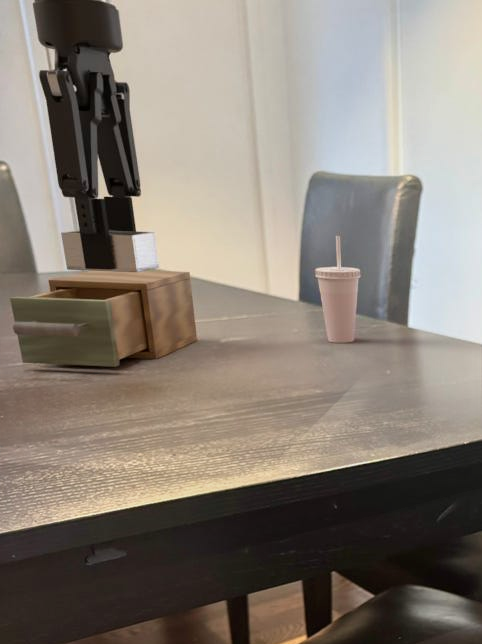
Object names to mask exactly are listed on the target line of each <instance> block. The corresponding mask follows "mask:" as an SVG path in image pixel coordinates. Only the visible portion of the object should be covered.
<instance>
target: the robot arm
mask: <svg viewBox="0 0 482 644" xmlns="http://www.w3.org/2000/svg"><path fill="white" fill-rule="evenodd" d="M32 8H33V9H32V10H33V15H34V21H35V27H36V33H37V39H38V42H39V43H40V45H41V46H43V47H44V48H46V49H51V50H54V69H52V70H51V69H48V70H47V69H40V70H39V72H38V78H39V80H40V84H41V88H42V91H43V94H44V98H45V103H46V108H47V116H48V123H49V129H50V137H51V143H52V150H53V151H52V152H53V157H54V164H55V170H56V176H57V184H58V187H59V189H60V191H61V194H62V196H63V197H64V198H74V205H75V210H76V219H77V223H78V231H80V237H81V243H82V249H83V256H84V262H85V268H86V269H105V270H112V269H114V264H113V258H112V251H111V244H110V237H109V230H110V231H137V228H136V220H135V211H134V206H133V205H134V204H133V198H132V197H137V198H138V197H139V198H140V197H141V195H142V190H141V179H140V178H141V177H140V171H139V164H138V157H137V152H136V151H137V150H136V143H135V136H134V130H133V129H134V128H133V122H132V115H131V105H130V104H131V101H130V100H131V99H130V95H131V94H130V86H129V83H128V82H126V81H124V82H123V81H121V82H120V81H117V80H116V79H115V73H114V69H113V67H112V63H111V60H110V55H111V54H116V53H119V52H121V51H122V50H123V48H124V43H123V42H124V41H123V35H122V33H123V32H122V27H121V19H120V11H119V10H118V9H117V7H116V5H114V4H112V3H111V0H34V2H33V3H32ZM98 162H99V163H98ZM99 164H100V168H101V172H102V176H103V180H104V183H105V188H106V191H107V194H108V195H109V196H103V198H98V197H99V167H98V166H99Z"/></svg>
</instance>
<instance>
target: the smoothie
mask: <svg viewBox="0 0 482 644" xmlns="http://www.w3.org/2000/svg"><path fill="white" fill-rule="evenodd" d="M335 248H336V266H326V267H325V266H324V267H317V268H315V270H314V271H315V275H314V276H315V277H316V278H317V282H318V288H319V289H318V290H319V293H320V300H321V305H322V311H323V318H324V323H325V324H324V325H325V330H326V335H327V342H330V343H335V344H336V343H337V344H346V343H347V344H348V343H352V342H354V341H355V330H356V319H357V318H356V317H357V303H358V293H359V292H358V291H359V280H360V278H361V277H362V275H361V269H360V268H356V267H347V266H346V267H345V266H342V254H341V253H342V252H341V236H340V235H335Z"/></svg>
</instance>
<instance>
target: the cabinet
mask: <svg viewBox="0 0 482 644" xmlns="http://www.w3.org/2000/svg"><path fill="white" fill-rule="evenodd" d="M47 281H48V286H49V292H52V291H56V290H60V289H65V288H69V287H76V288H102V289H128V290H141V292H142V300H143V307H144V314H145V321H146V329H147V336H148V343H149V347H148V348H146V349H143V350H141V351H139V352H136V353H134V354H132V355H129V356H127V357H124V358H123V359H126V358H127V359H128V358H129V359H146V360H148V359H149V360H157V359H159V358H162V357H164V356H166V355H168V354H171V353H172V352H175V351H178V350H179V349H182V348H184V347H186V346H189V345H190V344H192V343H195V342H197V341H198V334H197V326H196V318H195V317H196V316H195V309H194V300H193V292H192V290H193V289H192V284H191V283H192V282H191V273H190V271H178V270H177V271H176V270H175V271H172V270H171V271H170V270H151V269H150V270H145V271H141V272H114V271H90V270H87V271H84V272H79V273H75V274H68V275H64V276H60V277H55V278H50V279H48V280H47Z"/></svg>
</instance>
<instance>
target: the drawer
mask: <svg viewBox="0 0 482 644" xmlns="http://www.w3.org/2000/svg"><path fill="white" fill-rule="evenodd" d="M9 300H10V301H9V302H10V306H11V310H12V315H13V320H14V322H13V324H12V330H13V332H14V334H15V335H17V341H18V346H19V350H20V356H21V360H22V363H23V364H25V363H26V364H43V365H63V366H65V365H66V366H67V365H68V366H87V367H89V366H90V367H111V368H112V367H114V368H115V367H118V366H120V365H121V364H120V362H121V361H120V360H122V359H125V358H124V357H127V356H129V355H132V354H134V353H136V352H139V351H141V350H143V349H146V348H148V347H149V343H148V336H147V329H146V321H145V314H144V307H143V300H142V292H141V290H128V289H102V288H76V287H69V288H65V289H60V290H56V291H52V292H50V291H48V292H43V293H40V294H35V295H31V296H17V295H15V296H11V297H9Z"/></svg>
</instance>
